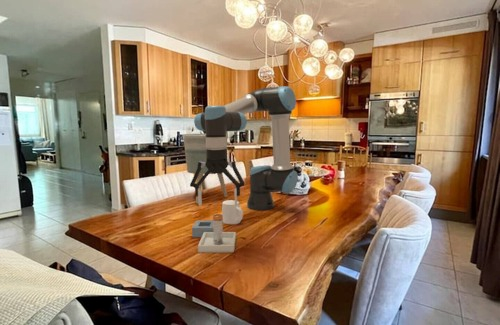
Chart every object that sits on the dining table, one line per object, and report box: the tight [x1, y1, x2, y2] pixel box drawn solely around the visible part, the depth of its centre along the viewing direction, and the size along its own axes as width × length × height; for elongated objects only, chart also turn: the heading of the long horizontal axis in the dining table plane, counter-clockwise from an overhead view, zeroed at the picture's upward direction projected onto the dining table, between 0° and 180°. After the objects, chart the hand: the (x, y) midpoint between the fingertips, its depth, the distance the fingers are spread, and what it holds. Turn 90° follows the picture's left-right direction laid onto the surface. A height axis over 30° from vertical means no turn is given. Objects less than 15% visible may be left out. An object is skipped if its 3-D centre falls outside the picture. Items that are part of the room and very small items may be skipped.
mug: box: [221, 199, 244, 225], centre depth 131 cm, size 12×9×8 cm
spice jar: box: [212, 213, 224, 245], centre depth 105 cm, size 4×4×11 cm
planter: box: [183, 133, 229, 205], centre depth 170 cm, size 26×26×40 cm
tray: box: [197, 231, 237, 253], centre depth 106 cm, size 13×13×2 cm
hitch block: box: [191, 219, 213, 238], centre depth 117 cm, size 9×9×4 cm
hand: (218, 204), depth 104 cm, fingers open, 13 cm apart
